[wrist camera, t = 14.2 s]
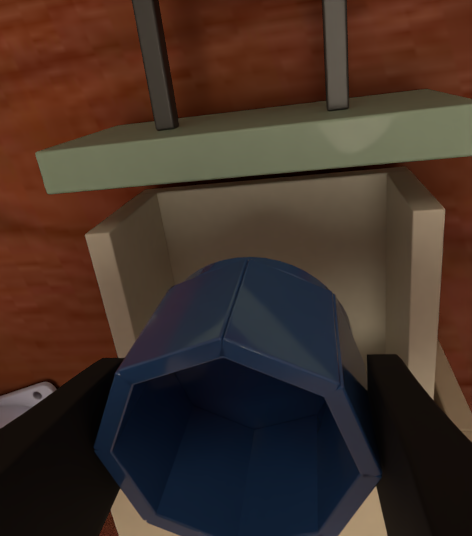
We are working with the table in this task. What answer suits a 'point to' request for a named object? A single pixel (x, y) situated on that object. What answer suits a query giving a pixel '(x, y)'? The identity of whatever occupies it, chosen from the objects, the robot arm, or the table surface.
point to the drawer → (276, 197)
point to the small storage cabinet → (370, 514)
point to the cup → (243, 408)
